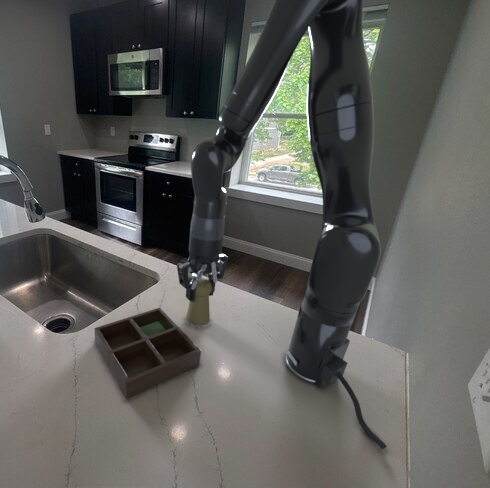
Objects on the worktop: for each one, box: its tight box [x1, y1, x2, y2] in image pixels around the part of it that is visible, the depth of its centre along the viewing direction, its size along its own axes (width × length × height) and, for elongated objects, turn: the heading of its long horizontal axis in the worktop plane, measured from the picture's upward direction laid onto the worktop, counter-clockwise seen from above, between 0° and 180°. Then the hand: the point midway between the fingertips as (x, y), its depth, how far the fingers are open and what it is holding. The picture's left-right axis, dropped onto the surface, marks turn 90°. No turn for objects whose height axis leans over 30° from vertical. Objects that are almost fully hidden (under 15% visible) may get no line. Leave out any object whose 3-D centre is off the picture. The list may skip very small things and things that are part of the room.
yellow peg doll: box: [185, 277, 212, 327], centre depth 74 cm, size 6×6×11 cm
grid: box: [94, 307, 202, 400], centre depth 64 cm, size 17×17×4 cm
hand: (200, 296), depth 73 cm, fingers closed on yellow peg doll, 5 cm apart
